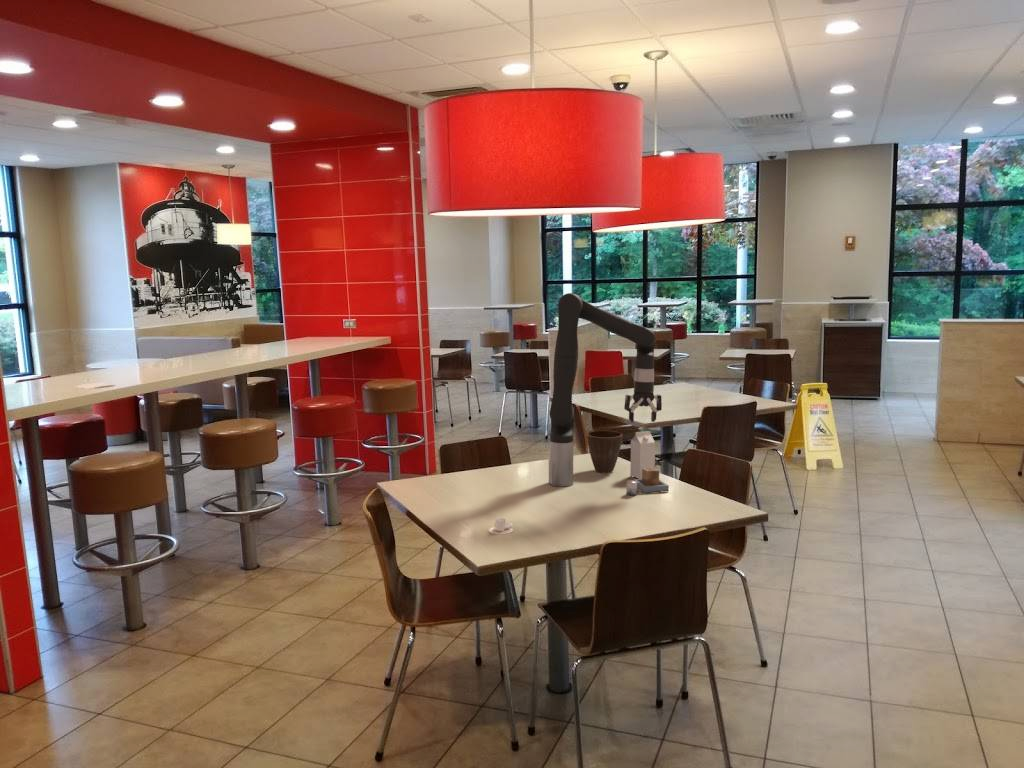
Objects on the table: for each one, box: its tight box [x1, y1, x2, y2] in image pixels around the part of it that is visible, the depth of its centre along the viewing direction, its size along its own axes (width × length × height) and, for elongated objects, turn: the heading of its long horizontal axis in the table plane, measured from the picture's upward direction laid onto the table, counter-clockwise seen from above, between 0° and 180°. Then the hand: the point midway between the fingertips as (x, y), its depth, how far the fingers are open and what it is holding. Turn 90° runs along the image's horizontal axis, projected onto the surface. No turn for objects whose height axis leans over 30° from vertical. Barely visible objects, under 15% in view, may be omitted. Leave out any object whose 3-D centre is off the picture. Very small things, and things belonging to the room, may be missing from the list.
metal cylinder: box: [625, 480, 638, 497], centre depth 310 cm, size 4×4×5 cm
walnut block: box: [642, 467, 660, 486], centre depth 319 cm, size 5×5×7 cm
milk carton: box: [629, 430, 656, 479], centre depth 336 cm, size 7×7×19 cm
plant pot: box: [586, 430, 623, 474], centre depth 348 cm, size 15×15×16 cm
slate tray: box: [632, 478, 670, 494], centre depth 319 cm, size 10×12×2 cm
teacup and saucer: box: [488, 517, 514, 535], centre depth 267 cm, size 9×8×4 cm
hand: (642, 421), depth 319 cm, fingers open, 8 cm apart
